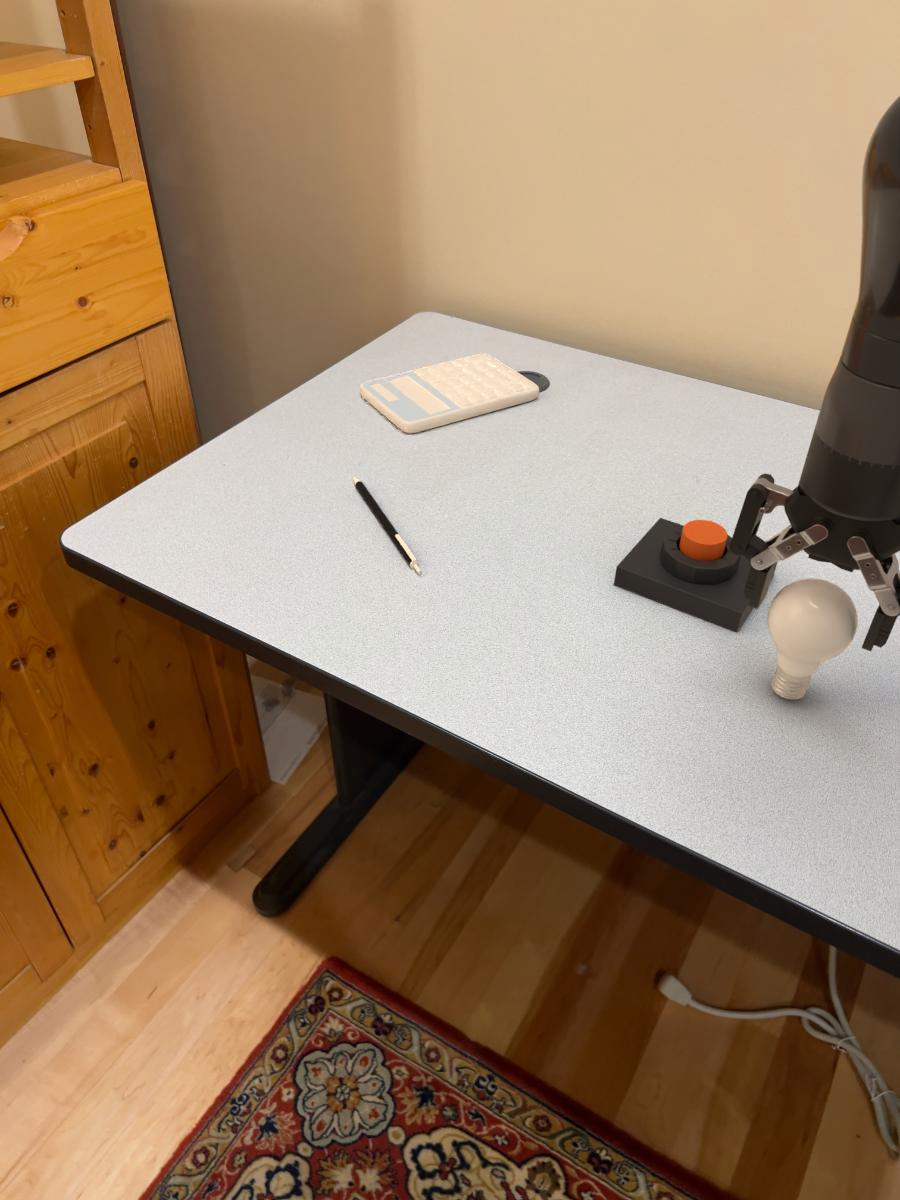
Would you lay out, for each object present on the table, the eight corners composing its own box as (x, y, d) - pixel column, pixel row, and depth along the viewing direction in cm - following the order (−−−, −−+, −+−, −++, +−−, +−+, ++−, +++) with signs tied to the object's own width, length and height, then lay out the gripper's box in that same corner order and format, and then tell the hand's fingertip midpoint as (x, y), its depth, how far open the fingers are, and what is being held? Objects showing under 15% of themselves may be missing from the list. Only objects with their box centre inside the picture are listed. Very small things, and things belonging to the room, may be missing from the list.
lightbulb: (835, 685, 73) (877, 579, 66) (815, 733, 68) (857, 626, 62) (759, 657, 75) (791, 552, 68) (735, 701, 71) (767, 595, 64)
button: (729, 546, 82) (734, 528, 81) (713, 567, 79) (718, 549, 78) (688, 532, 84) (692, 514, 82) (672, 553, 81) (675, 534, 80)
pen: (415, 577, 84) (415, 568, 83) (350, 481, 97) (349, 472, 97) (424, 575, 84) (424, 565, 83) (357, 479, 98) (357, 471, 97)
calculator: (542, 399, 113) (543, 385, 112) (406, 437, 105) (405, 422, 104) (485, 362, 122) (486, 348, 121) (356, 394, 114) (355, 380, 113)
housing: (773, 576, 84) (783, 541, 82) (736, 632, 78) (746, 597, 75) (656, 535, 89) (663, 502, 87) (613, 585, 83) (618, 550, 80)
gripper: (750, 425, 58) (704, 615, 68) (987, 490, 52) (897, 689, 62) (786, 384, 63) (738, 567, 73) (1007, 439, 56) (920, 631, 67)
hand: (811, 623), depth 67 cm, fingers open, 8 cm apart
